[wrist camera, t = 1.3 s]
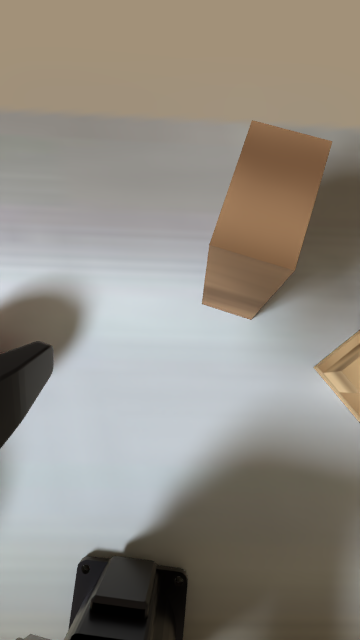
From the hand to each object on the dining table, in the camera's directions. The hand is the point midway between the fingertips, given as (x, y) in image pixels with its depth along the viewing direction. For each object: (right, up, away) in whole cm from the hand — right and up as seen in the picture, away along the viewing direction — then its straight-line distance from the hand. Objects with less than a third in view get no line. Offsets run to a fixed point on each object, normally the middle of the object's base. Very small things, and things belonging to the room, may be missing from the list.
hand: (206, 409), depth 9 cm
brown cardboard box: (+3, +6, +15) cm, 16 cm away
